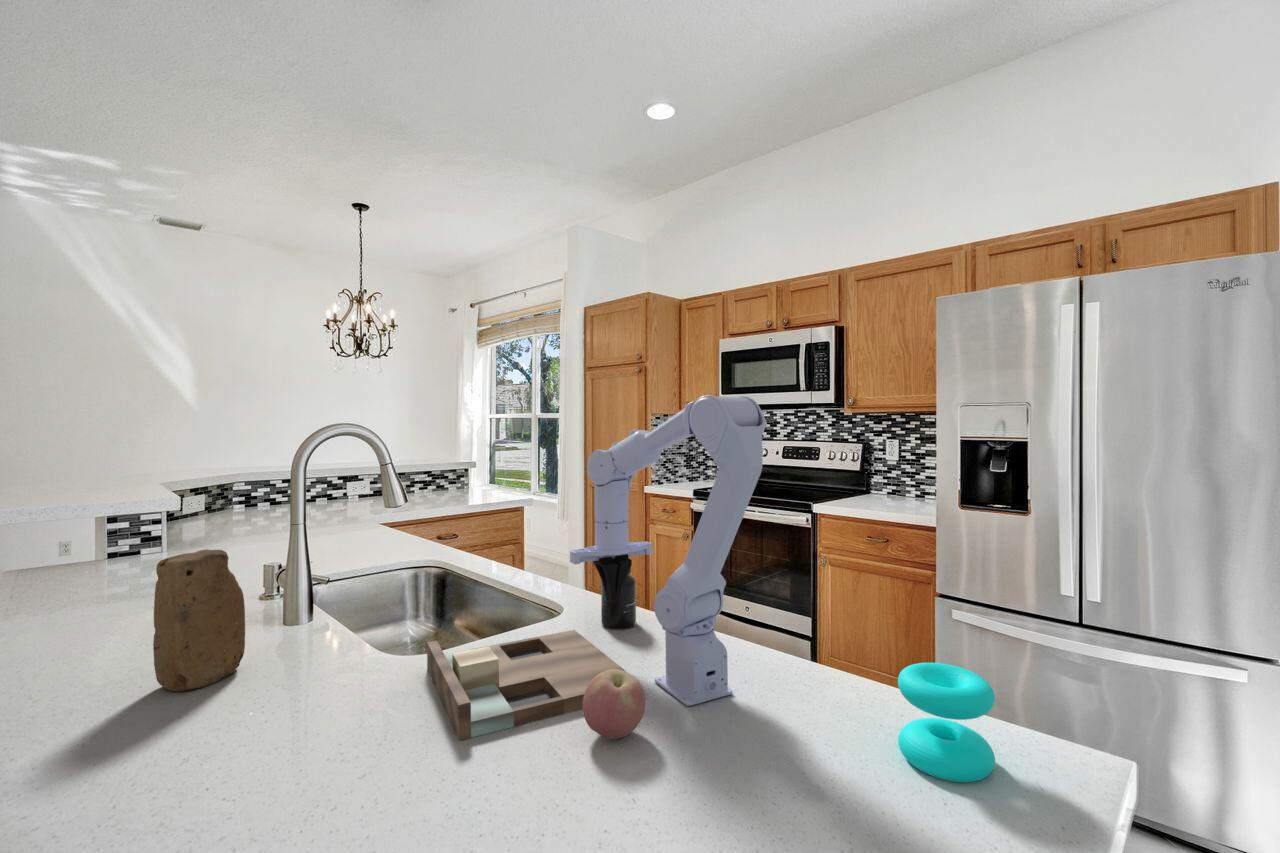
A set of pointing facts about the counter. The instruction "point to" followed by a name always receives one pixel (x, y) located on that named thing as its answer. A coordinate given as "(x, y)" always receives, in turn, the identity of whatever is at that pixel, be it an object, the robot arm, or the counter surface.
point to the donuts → (946, 722)
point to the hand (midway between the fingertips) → (612, 601)
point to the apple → (614, 703)
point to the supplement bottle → (620, 606)
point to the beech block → (476, 667)
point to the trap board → (520, 682)
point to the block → (197, 620)
